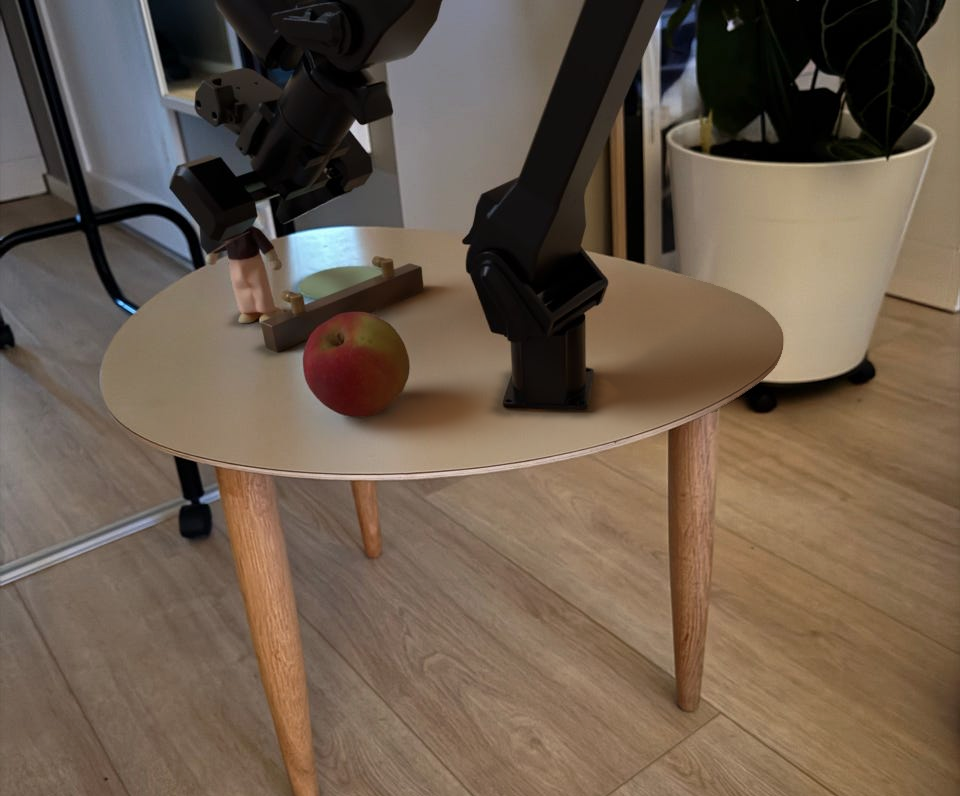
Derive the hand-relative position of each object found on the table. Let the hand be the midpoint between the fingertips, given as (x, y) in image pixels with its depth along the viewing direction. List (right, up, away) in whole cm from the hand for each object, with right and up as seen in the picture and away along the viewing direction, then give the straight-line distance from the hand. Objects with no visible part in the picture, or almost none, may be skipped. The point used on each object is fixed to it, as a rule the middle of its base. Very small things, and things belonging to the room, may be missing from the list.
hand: (244, 234), depth 86 cm
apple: (+13, -17, -13) cm, 25 cm away
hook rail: (+5, -5, +7) cm, 10 cm away
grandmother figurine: (0, -7, +5) cm, 9 cm away
